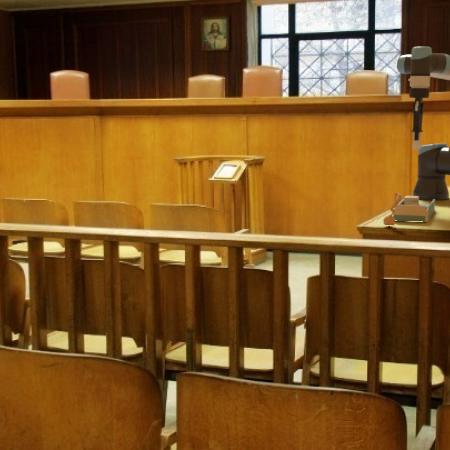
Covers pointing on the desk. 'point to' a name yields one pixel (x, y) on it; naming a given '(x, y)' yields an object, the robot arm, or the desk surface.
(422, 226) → the desk surface
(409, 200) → the birch block
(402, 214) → the box
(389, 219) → the figurine
